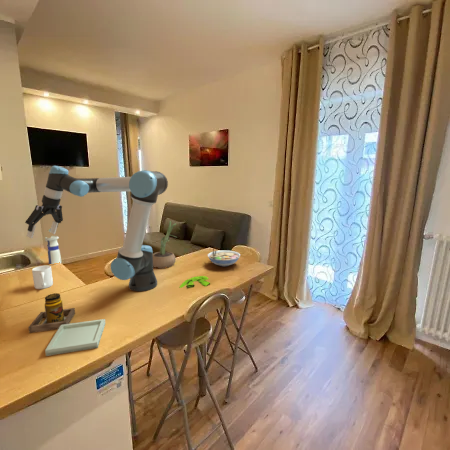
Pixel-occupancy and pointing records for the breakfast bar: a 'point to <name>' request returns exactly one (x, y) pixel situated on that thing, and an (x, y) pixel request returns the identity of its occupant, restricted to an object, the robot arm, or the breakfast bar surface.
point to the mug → (42, 277)
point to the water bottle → (53, 249)
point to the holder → (50, 326)
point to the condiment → (53, 309)
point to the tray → (76, 337)
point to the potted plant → (164, 252)
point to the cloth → (194, 281)
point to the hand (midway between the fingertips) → (41, 235)
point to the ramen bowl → (223, 257)
